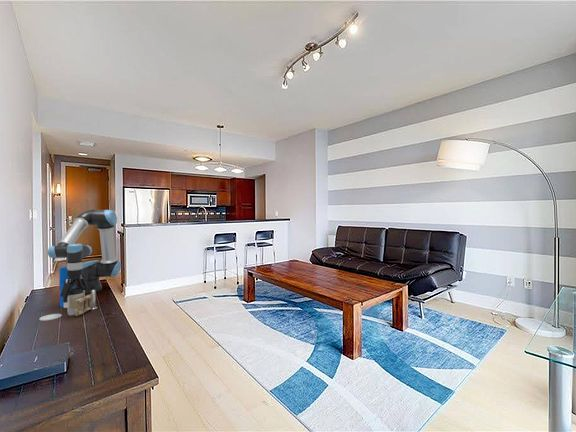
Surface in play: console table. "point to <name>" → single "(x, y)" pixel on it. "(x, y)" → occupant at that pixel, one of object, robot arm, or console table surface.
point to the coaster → (50, 317)
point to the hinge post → (93, 299)
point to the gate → (83, 304)
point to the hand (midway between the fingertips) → (74, 304)
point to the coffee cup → (74, 296)
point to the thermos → (61, 282)
